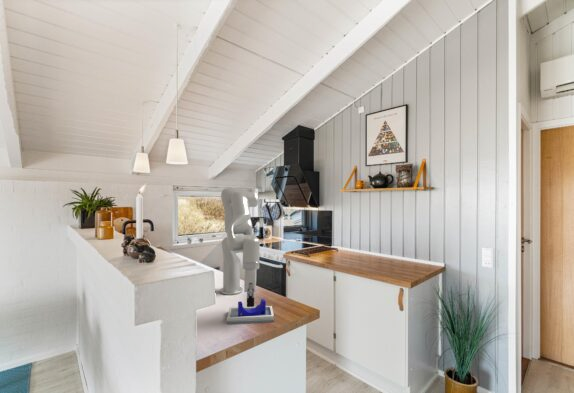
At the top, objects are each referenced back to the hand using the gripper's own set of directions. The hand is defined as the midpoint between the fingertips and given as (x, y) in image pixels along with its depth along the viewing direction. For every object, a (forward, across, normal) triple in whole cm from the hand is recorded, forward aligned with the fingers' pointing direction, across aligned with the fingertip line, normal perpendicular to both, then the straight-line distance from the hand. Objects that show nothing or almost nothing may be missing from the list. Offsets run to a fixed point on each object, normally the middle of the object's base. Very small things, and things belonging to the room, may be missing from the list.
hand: (250, 302), depth 127 cm
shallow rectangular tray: (+6, +1, 0) cm, 6 cm away
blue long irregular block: (+5, +1, 0) cm, 5 cm away
